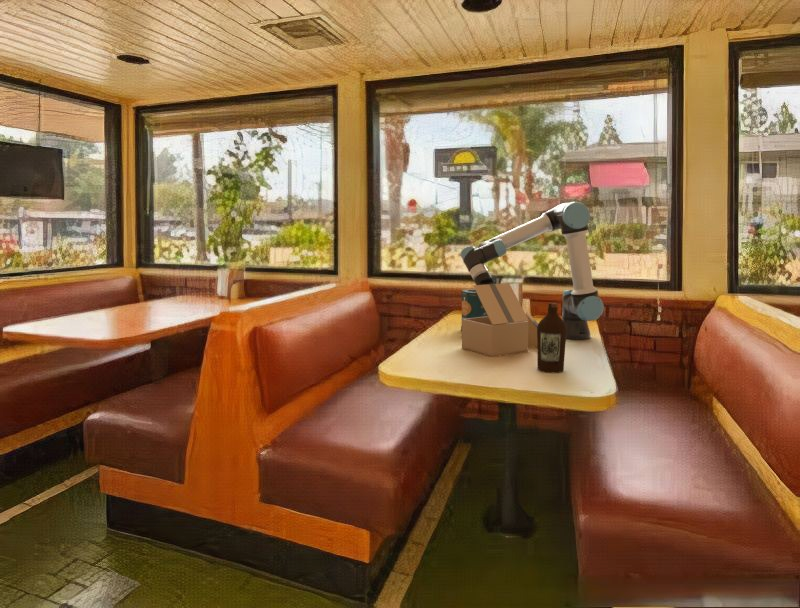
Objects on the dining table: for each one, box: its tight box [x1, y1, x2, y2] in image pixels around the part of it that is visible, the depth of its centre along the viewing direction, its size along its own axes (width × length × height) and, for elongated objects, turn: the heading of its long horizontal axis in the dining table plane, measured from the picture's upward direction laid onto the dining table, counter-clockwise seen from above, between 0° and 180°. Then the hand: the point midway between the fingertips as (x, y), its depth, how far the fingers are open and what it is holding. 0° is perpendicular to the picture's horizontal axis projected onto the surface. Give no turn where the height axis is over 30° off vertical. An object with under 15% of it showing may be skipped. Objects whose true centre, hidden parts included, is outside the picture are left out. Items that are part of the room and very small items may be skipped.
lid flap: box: [473, 282, 529, 325], centre depth 235 cm, size 20×20×1 cm
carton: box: [461, 316, 529, 357], centre depth 240 cm, size 20×20×13 cm
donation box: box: [460, 275, 502, 332], centre depth 282 cm, size 16×16×28 cm
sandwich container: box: [525, 311, 539, 348], centre depth 248 cm, size 9×15×15 cm, turn 74°
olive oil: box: [536, 302, 567, 373], centre depth 205 cm, size 11×11×25 cm
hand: (505, 320), depth 232 cm, fingers closed
